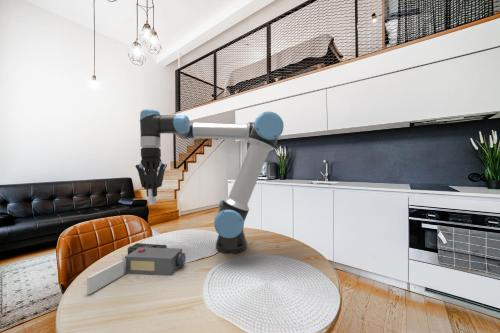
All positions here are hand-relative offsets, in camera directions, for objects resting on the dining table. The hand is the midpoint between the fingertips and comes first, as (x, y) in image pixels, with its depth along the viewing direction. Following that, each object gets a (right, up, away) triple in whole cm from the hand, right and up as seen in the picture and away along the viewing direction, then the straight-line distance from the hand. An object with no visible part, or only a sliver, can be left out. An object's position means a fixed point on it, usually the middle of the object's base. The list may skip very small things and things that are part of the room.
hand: (152, 204), depth 84 cm
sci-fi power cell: (-5, -24, +5) cm, 25 cm away
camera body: (+5, -23, -6) cm, 25 cm away
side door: (-7, -23, -16) cm, 29 cm away
